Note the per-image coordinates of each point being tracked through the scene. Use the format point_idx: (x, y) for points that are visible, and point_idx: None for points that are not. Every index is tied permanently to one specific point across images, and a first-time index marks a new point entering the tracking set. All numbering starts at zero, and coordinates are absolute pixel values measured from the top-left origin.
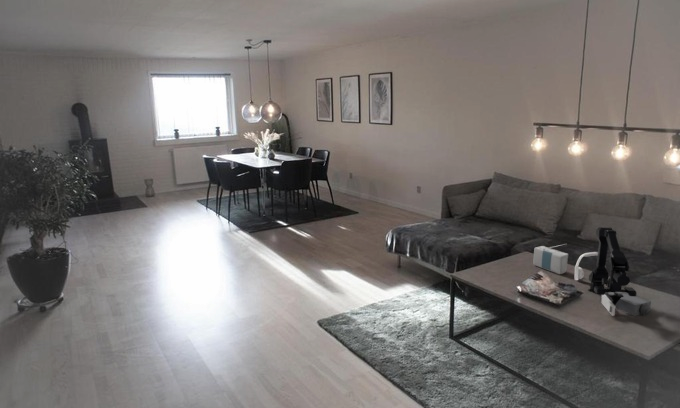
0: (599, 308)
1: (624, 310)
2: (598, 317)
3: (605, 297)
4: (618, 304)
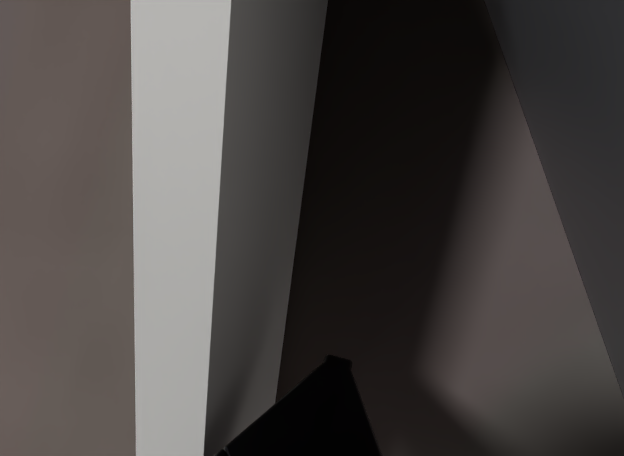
0: None
1: (610, 342)
2: (33, 450)
3: (143, 92)
4: (599, 225)
